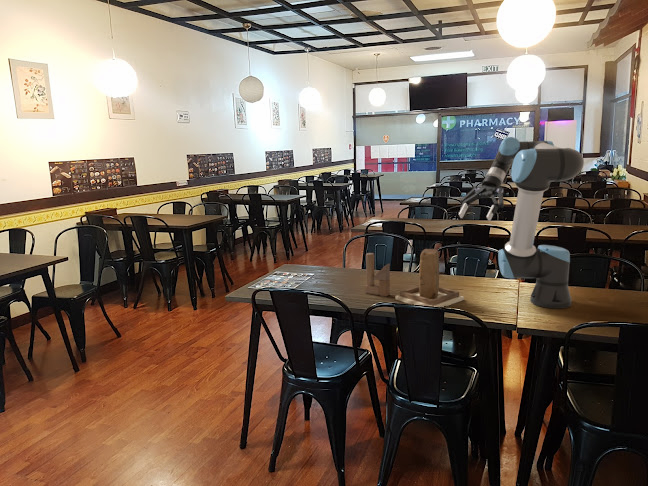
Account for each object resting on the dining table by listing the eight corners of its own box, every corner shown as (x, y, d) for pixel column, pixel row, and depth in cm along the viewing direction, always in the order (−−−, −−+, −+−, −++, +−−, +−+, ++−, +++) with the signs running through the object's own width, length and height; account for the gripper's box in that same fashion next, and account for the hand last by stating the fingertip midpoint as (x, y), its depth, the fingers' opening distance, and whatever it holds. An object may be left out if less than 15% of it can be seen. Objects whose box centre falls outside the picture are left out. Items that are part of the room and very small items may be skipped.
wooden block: (386, 296, 212) (386, 256, 209) (364, 293, 218) (364, 253, 215) (390, 294, 215) (390, 254, 212) (368, 291, 221) (368, 252, 218)
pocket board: (463, 300, 205) (463, 292, 204) (432, 310, 193) (433, 302, 192) (426, 289, 221) (426, 282, 220) (395, 299, 208) (395, 291, 208)
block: (435, 300, 200) (436, 253, 196) (417, 299, 203) (418, 252, 199) (440, 293, 210) (441, 247, 206) (422, 291, 213) (423, 246, 209)
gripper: (523, 186, 210) (503, 225, 203) (472, 184, 229) (452, 220, 222) (517, 174, 206) (497, 214, 199) (465, 173, 224) (445, 210, 218)
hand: (473, 217), depth 211 cm, fingers open, 13 cm apart
